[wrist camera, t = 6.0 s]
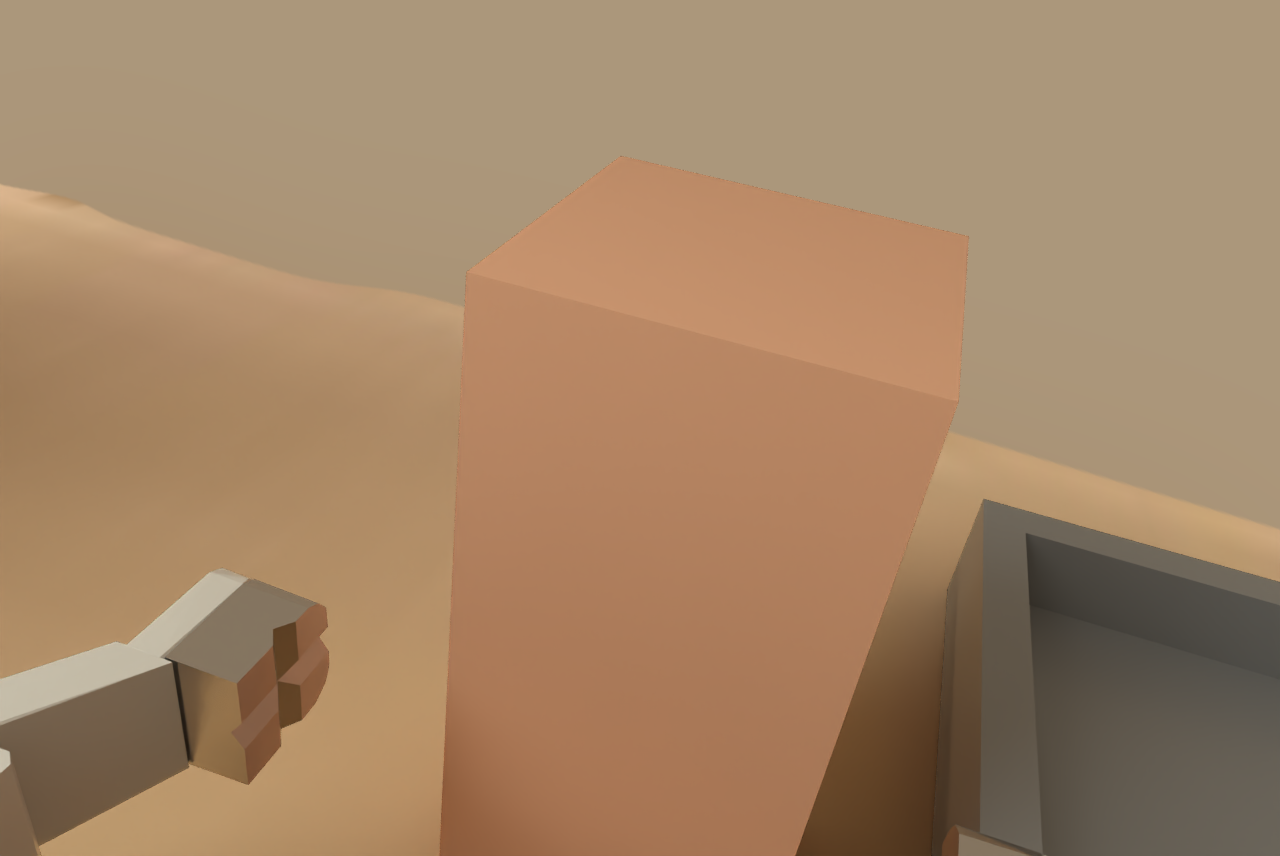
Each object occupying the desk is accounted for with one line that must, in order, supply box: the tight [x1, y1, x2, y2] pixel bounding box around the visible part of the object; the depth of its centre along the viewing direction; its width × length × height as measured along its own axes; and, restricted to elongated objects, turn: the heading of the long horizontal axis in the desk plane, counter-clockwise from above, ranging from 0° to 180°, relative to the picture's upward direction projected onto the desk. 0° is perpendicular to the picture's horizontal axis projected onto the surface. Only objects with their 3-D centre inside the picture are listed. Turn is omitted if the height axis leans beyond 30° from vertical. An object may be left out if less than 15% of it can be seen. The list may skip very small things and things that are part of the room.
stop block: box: [440, 156, 969, 856], centre depth 15 cm, size 5×5×12 cm
